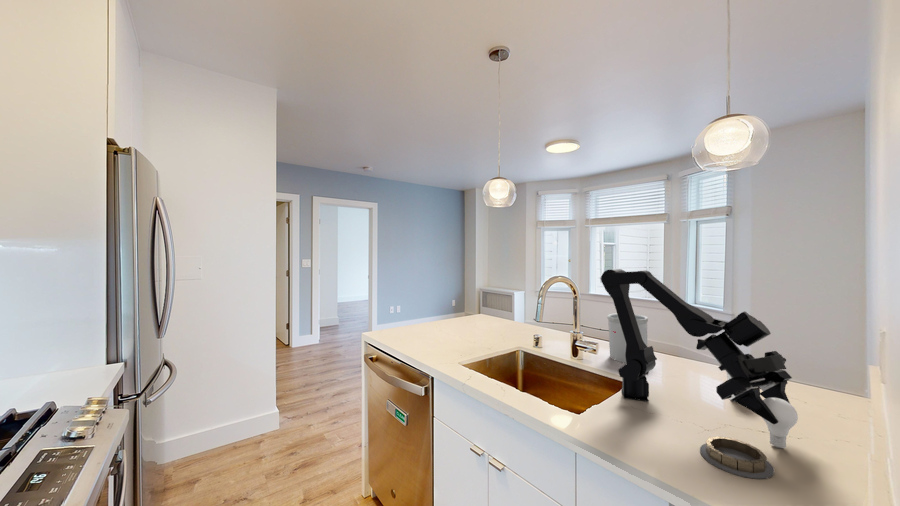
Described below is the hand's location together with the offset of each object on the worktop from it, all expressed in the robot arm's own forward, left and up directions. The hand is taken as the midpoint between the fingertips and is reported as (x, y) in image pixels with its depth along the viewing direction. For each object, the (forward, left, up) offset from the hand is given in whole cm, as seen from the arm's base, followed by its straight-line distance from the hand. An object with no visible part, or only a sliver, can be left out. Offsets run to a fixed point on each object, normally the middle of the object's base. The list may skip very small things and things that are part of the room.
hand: (785, 420), depth 76 cm
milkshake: (+1, +27, -7) cm, 28 cm away
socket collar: (-12, -8, -7) cm, 16 cm away
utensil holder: (-24, +61, -7) cm, 66 cm away
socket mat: (-12, -8, -7) cm, 16 cm away
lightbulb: (-1, +1, -7) cm, 7 cm away
